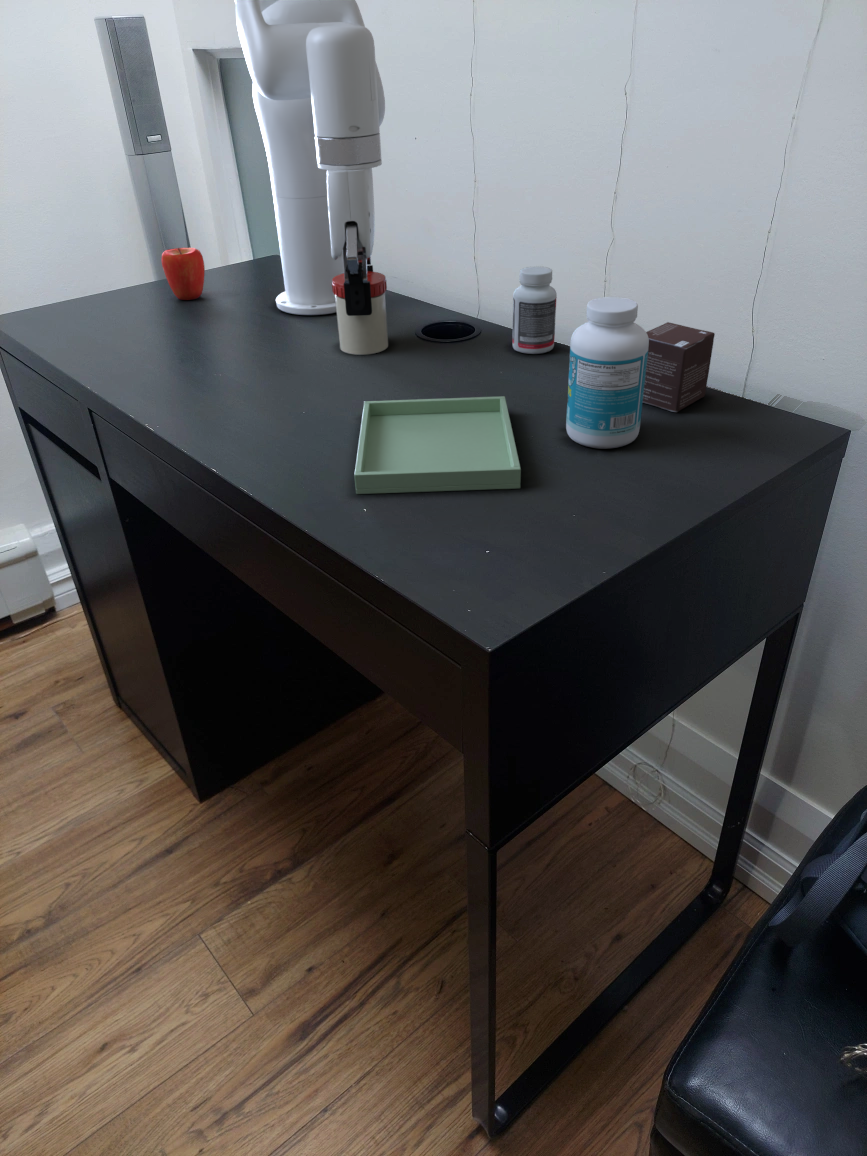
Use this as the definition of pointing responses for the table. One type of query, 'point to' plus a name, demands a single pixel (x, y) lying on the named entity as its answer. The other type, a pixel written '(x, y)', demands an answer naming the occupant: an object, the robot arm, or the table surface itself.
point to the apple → (184, 272)
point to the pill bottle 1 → (534, 311)
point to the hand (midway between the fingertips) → (361, 304)
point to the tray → (436, 446)
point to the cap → (375, 279)
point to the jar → (363, 328)
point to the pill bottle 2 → (607, 375)
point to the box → (677, 366)
